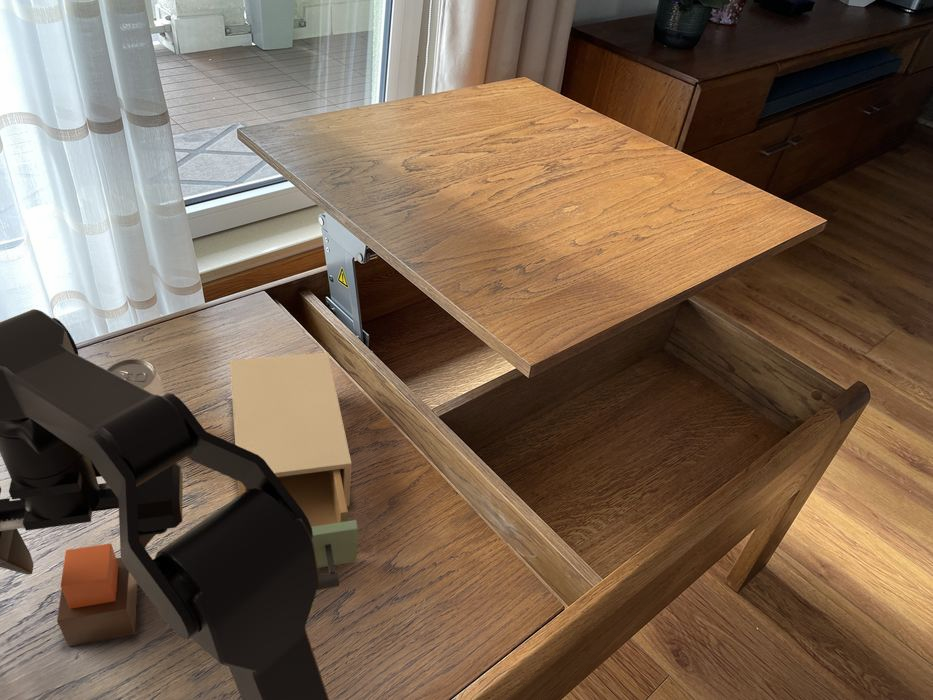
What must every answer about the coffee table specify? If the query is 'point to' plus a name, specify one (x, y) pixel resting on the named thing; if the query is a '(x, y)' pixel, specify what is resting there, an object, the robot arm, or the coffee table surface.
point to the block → (89, 576)
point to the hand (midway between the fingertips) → (86, 561)
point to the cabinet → (290, 415)
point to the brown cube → (101, 614)
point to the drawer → (325, 519)
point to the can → (139, 374)
